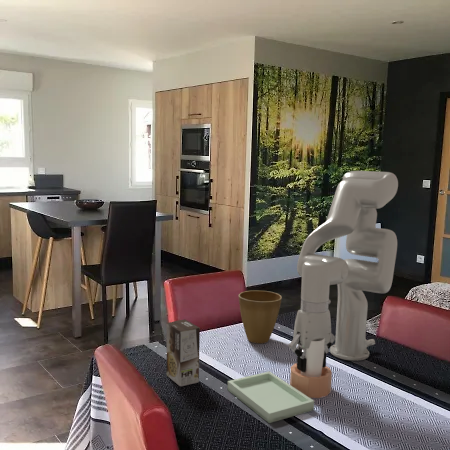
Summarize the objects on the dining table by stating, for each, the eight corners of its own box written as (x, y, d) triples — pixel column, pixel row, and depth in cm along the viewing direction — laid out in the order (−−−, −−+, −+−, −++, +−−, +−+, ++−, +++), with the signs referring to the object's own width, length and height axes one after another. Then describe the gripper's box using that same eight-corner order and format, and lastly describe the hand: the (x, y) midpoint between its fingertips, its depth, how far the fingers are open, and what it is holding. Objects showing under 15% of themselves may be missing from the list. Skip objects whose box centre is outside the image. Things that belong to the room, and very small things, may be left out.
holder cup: (312, 377, 152) (313, 359, 151) (338, 392, 142) (339, 373, 141) (282, 384, 146) (283, 366, 145) (307, 401, 137) (308, 381, 136)
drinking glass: (322, 395, 140) (324, 342, 138) (297, 392, 142) (299, 340, 139) (322, 384, 147) (325, 333, 145) (298, 381, 148) (300, 331, 146)
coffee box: (199, 382, 146) (200, 327, 144) (179, 387, 143) (180, 331, 141) (185, 370, 154) (185, 318, 152) (165, 375, 151) (165, 321, 148)
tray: (269, 379, 149) (269, 371, 149) (313, 410, 132) (314, 400, 132) (227, 389, 142) (227, 381, 142) (268, 423, 125) (269, 413, 125)
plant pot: (281, 348, 173) (283, 302, 171) (237, 347, 173) (239, 301, 171) (277, 332, 188) (279, 290, 186) (237, 331, 188) (238, 289, 186)
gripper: (329, 298, 148) (326, 357, 151) (280, 306, 140) (278, 368, 142) (347, 305, 142) (344, 367, 144) (297, 314, 133) (294, 379, 136)
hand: (311, 367), depth 143 cm, fingers closed on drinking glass, 6 cm apart
